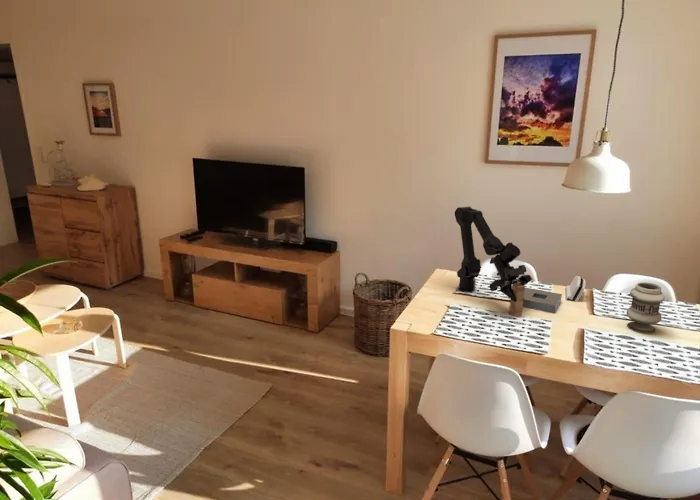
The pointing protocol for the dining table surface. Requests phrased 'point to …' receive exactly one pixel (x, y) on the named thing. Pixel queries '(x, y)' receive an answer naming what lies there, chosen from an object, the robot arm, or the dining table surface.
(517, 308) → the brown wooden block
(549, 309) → the grey slotted block
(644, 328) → the apothecary jar
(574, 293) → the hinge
